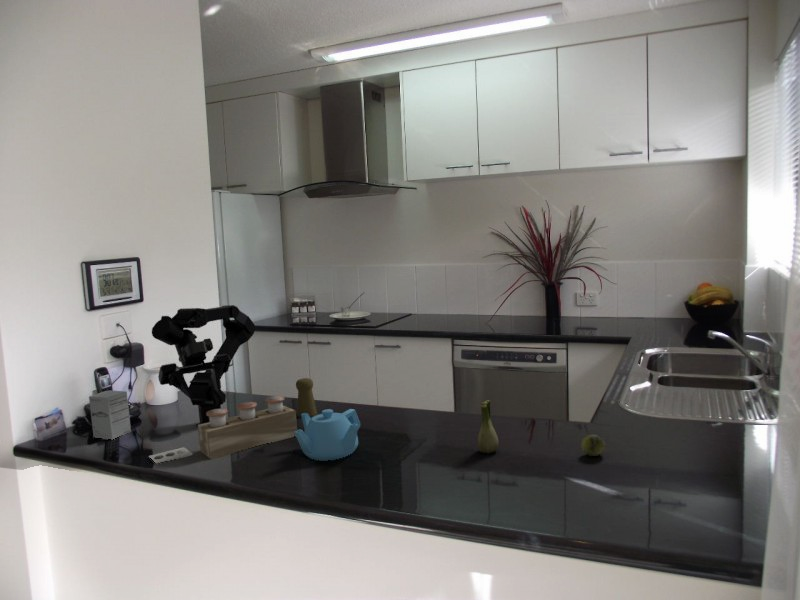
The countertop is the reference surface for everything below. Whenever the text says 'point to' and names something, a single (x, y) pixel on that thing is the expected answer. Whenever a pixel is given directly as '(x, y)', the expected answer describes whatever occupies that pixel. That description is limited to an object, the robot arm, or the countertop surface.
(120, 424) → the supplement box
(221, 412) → the button
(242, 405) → the middle button
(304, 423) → the teapot
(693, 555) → the countertop surface
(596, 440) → the lime
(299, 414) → the cork
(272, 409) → the button
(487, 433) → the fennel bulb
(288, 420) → the button box
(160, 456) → the pattern card
